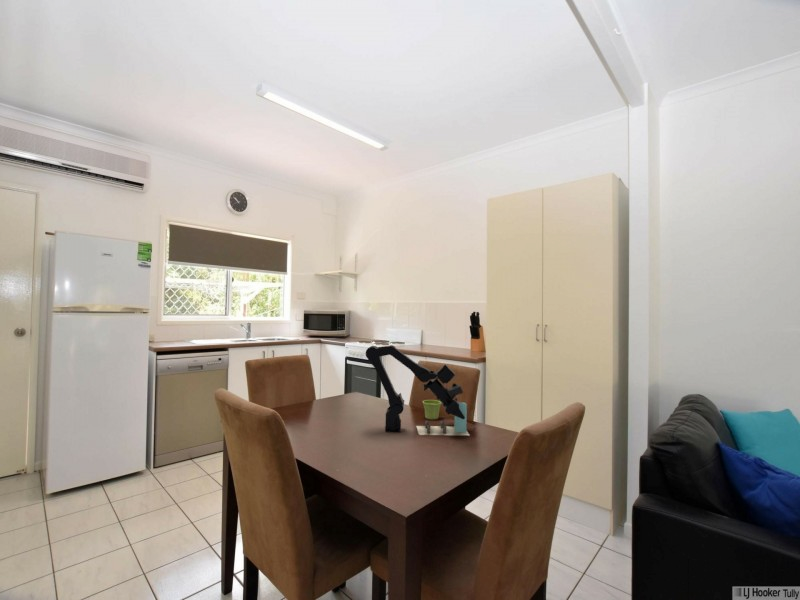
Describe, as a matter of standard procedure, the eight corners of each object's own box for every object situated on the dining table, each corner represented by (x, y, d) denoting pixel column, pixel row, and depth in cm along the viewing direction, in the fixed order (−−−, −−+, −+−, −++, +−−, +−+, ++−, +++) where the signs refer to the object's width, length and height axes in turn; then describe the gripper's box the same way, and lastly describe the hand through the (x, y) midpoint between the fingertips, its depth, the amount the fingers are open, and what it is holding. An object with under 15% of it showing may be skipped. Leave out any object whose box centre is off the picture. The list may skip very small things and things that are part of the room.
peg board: (418, 437, 159) (419, 427, 159) (416, 428, 171) (416, 419, 171) (470, 437, 160) (470, 428, 160) (463, 428, 172) (464, 420, 172)
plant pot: (418, 417, 188) (419, 400, 188) (435, 416, 192) (435, 399, 192) (427, 423, 179) (428, 404, 179) (444, 421, 183) (445, 403, 183)
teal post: (456, 432, 164) (456, 404, 164) (454, 429, 168) (454, 402, 168) (466, 432, 164) (466, 404, 164) (463, 429, 168) (464, 402, 169)
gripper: (454, 382, 157) (480, 410, 157) (450, 374, 176) (473, 399, 175) (435, 400, 158) (460, 428, 157) (433, 391, 176) (456, 415, 175)
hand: (463, 416), depth 166 cm, fingers open, 5 cm apart
